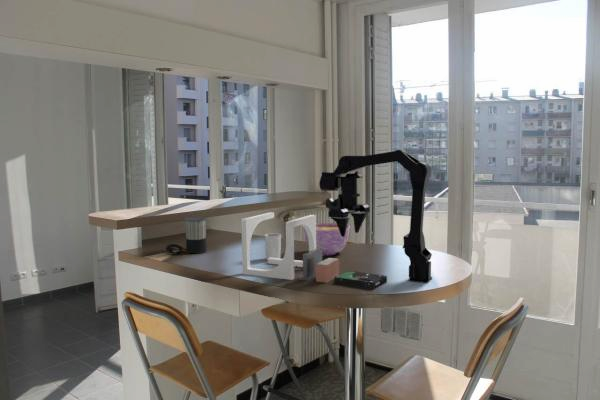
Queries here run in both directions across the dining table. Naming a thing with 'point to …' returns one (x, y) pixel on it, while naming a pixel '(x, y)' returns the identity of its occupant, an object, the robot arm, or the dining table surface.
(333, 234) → the bowl of food
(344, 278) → the disk drive
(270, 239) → the drinking glass
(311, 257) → the metal plate
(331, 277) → the book
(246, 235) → the white arched frame
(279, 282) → the dining table surface
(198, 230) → the milk frother
